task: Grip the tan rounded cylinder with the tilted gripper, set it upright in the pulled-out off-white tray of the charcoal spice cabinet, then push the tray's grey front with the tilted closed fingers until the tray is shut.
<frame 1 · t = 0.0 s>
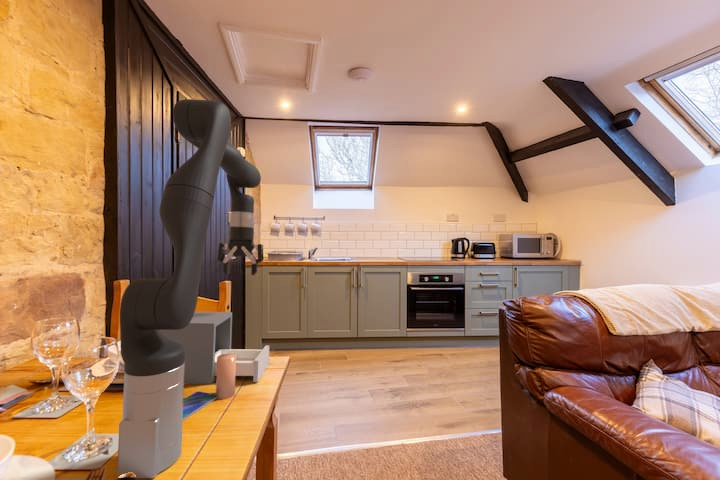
hand: (240, 274, 101), 29 cm above the table, tool pointing down, fingers open, 8 cm apart
cabinet: (195, 373, 92), on the table
tray: (238, 362, 93), point 3 cm above the table, slide at 11.0 cm
tan rounded cylinder: (225, 394, 80), on the table
smartphone: (184, 411, 72), on the table
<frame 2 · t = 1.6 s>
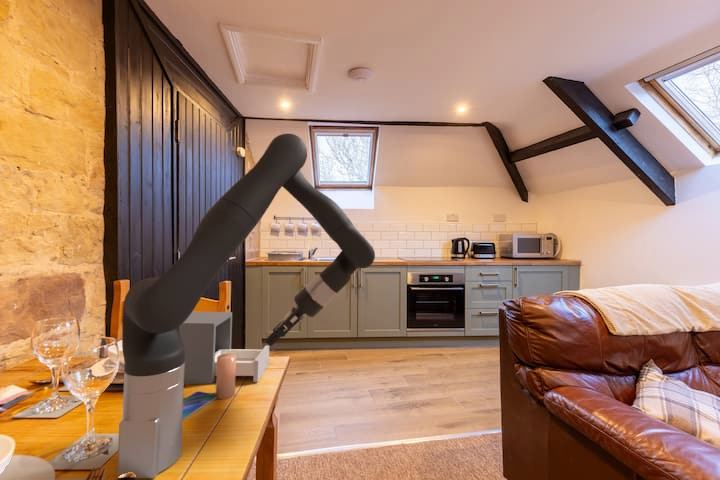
hand: (271, 337, 81), 15 cm above the table, tool tilted 45°, fingers open, 8 cm apart
nothing on the table moved.
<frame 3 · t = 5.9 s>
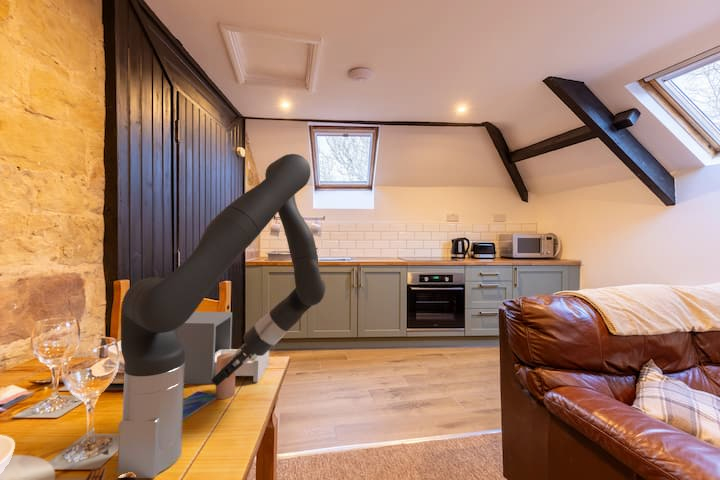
hand: (218, 378, 80), 4 cm above the table, tool tilted 45°, fingers closed on tan rounded cylinder, 4 cm apart
tan rounded cylinder: (225, 394, 80), on the table, touching gripper
everything else where it was.
when the fingers open (8 cm above the table, at t = 11.7 s): tan rounded cylinder drops 1 cm, resting on tray.
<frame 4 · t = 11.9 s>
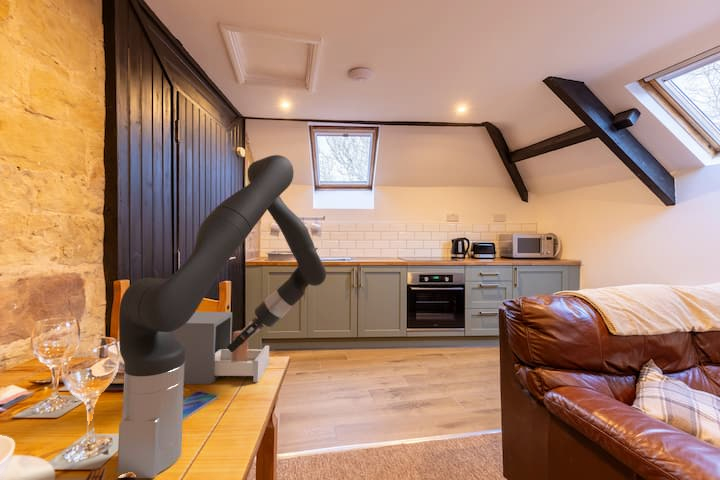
hand: (234, 345, 93), 8 cm above the table, tool tilted 45°, fingers open, 6 cm apart
tray: (238, 362, 93), point 3 cm above the table, slide at 11.0 cm, touching tan rounded cylinder
tan rounded cylinder: (239, 365, 93), point 2 cm above the table, touching tray
everything else where it was.
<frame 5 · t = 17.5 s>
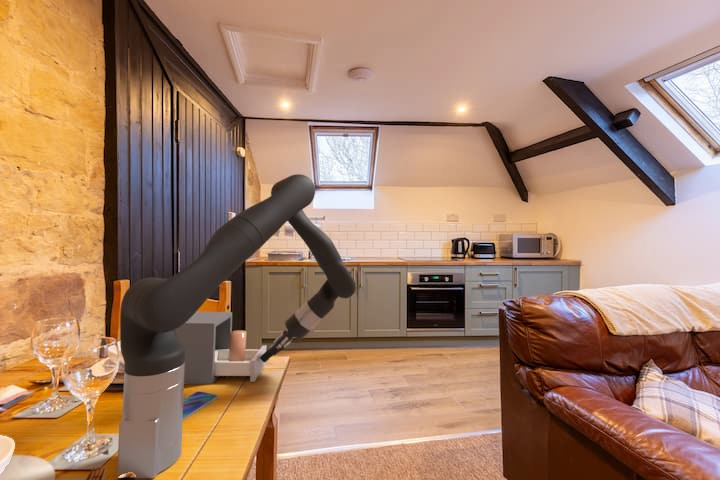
hand: (262, 359, 93), 4 cm above the table, tool tilted 45°, fingers closed
tray: (235, 362, 93), point 3 cm above the table, slide at 10.1 cm, touching gripper, tan rounded cylinder
everything else where it was.
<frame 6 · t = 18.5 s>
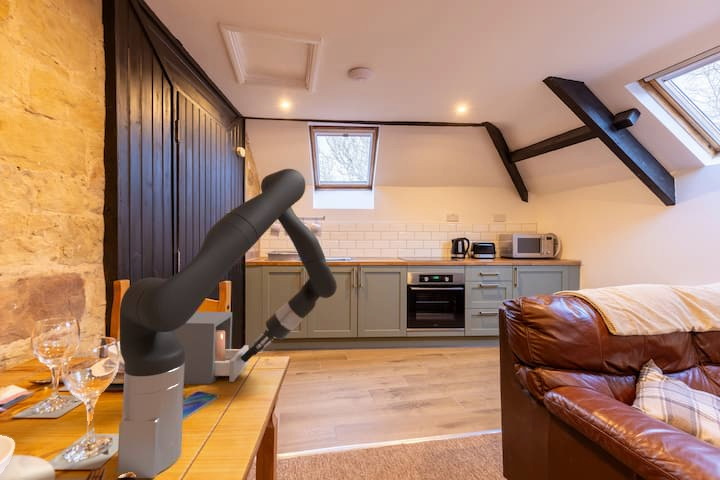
hand: (243, 359, 93), 4 cm above the table, tool tilted 45°, fingers closed
tray: (215, 362, 92), point 3 cm above the table, slide at 4.3 cm, touching gripper, tan rounded cylinder
tan rounded cylinder: (216, 365, 92), point 2 cm above the table, touching tray
everything else where it was.
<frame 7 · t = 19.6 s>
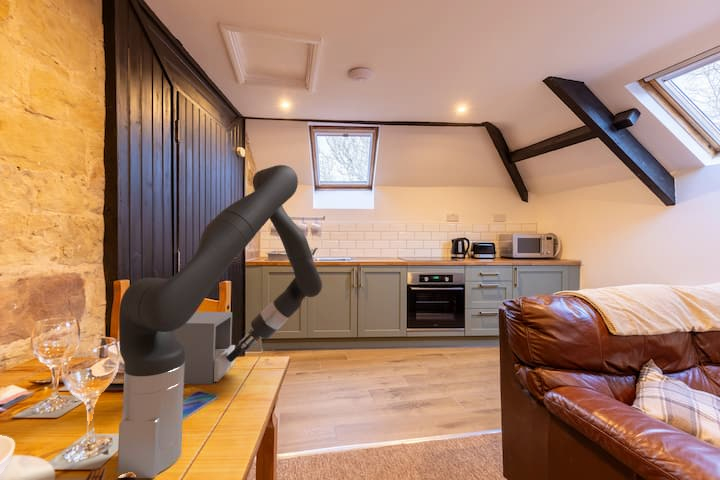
hand: (229, 359, 92), 4 cm above the table, tool tilted 45°, fingers closed
tray: (201, 361, 92), point 3 cm above the table, slide at 0.0 cm, touching gripper, tan rounded cylinder
tan rounded cylinder: (202, 365, 92), point 2 cm above the table, touching tray
everything else where it was.
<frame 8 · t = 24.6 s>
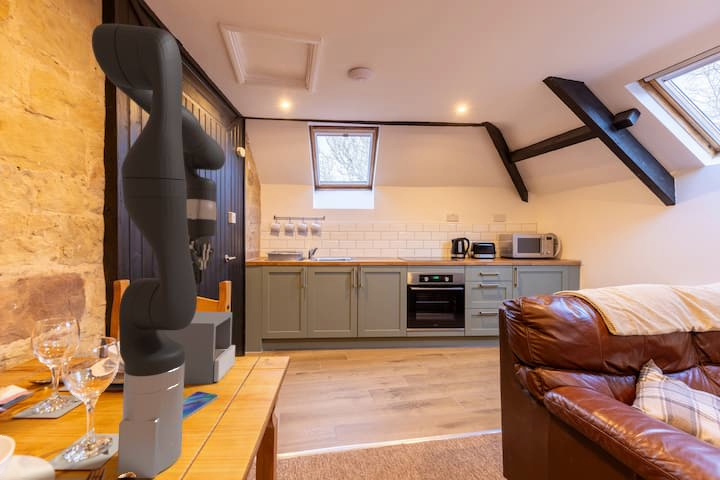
hand: (198, 283, 80), 29 cm above the table, tool pointing down, fingers closed
tray: (201, 361, 92), point 3 cm above the table, slide at 0.0 cm, touching tan rounded cylinder
everything else where it was.
at the end: tray slide at 0.0 cm; tan rounded cylinder inside the target area (1.6 cm from its centre), point 2.5 cm above the table; tan rounded cylinder tilted 3° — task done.
